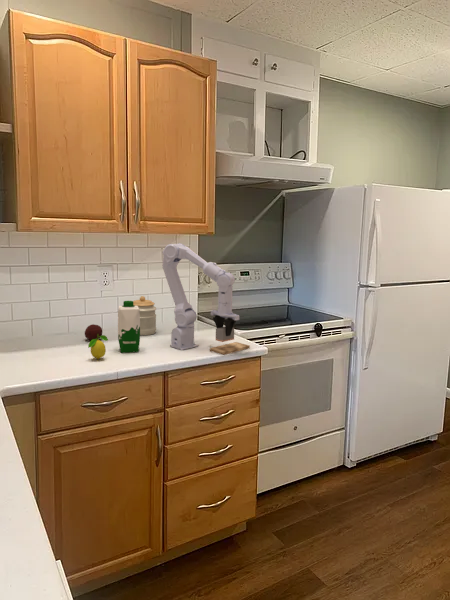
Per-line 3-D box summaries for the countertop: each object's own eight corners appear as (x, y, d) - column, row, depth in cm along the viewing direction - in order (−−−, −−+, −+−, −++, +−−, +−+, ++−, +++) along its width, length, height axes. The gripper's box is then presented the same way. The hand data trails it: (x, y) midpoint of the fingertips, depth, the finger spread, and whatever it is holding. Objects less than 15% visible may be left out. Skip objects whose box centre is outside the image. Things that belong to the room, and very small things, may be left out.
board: (223, 354, 190) (223, 351, 190) (210, 350, 195) (210, 348, 195) (249, 348, 201) (249, 345, 201) (235, 344, 207) (236, 341, 207)
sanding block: (222, 342, 191) (222, 330, 190) (215, 340, 194) (215, 328, 193) (234, 339, 196) (234, 327, 196) (227, 337, 199) (227, 326, 198)
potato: (105, 340, 207) (105, 325, 206) (88, 343, 202) (88, 327, 201) (98, 337, 212) (98, 322, 211) (81, 339, 208) (81, 323, 207)
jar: (144, 337, 215) (144, 299, 212) (122, 333, 221) (122, 296, 219) (161, 332, 226) (162, 296, 223) (140, 328, 233) (140, 293, 230)
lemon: (108, 356, 182) (108, 331, 181) (106, 361, 177) (106, 335, 175) (90, 357, 181) (90, 331, 180) (88, 361, 176) (87, 335, 174)
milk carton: (138, 347, 198) (138, 300, 195) (140, 352, 189) (140, 304, 186) (117, 347, 196) (117, 300, 192) (118, 353, 187) (118, 304, 184)
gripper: (244, 303, 190) (243, 336, 192) (219, 299, 200) (218, 330, 202) (233, 305, 185) (232, 339, 187) (207, 300, 195) (206, 332, 197)
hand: (224, 334), depth 194 cm, fingers closed on sanding block, 4 cm apart
